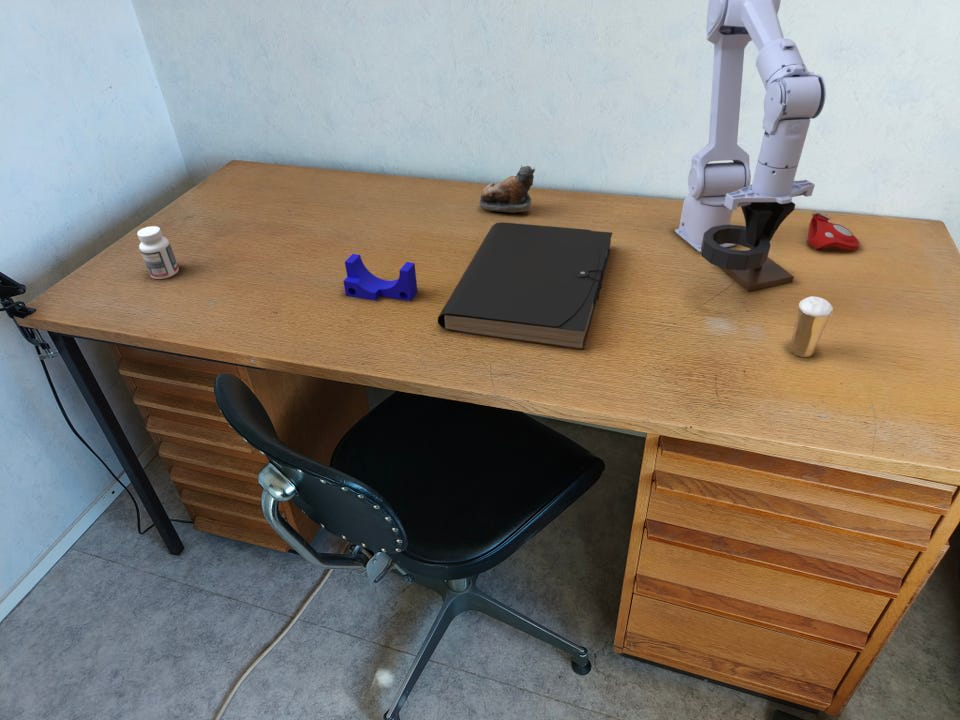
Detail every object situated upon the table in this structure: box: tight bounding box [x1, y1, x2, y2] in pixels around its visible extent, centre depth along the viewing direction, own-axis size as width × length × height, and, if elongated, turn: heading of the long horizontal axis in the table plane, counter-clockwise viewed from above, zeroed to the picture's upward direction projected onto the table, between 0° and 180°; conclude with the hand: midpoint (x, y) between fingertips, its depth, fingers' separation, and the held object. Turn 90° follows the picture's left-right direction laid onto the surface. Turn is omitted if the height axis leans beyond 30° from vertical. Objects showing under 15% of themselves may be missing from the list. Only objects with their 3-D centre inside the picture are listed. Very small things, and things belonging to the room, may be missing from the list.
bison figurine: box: [478, 165, 536, 213], centre depth 139 cm, size 12×7×10 cm, turn 74°
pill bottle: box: [136, 225, 180, 280], centre depth 123 cm, size 5×5×9 cm
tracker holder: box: [806, 210, 860, 251], centre depth 127 cm, size 12×4×10 cm
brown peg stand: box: [718, 256, 794, 292], centre depth 117 cm, size 9×9×7 cm
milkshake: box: [789, 295, 839, 358], centre depth 98 cm, size 5×5×10 cm
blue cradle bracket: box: [342, 253, 419, 302], centre depth 116 cm, size 12×4×6 cm, turn 71°
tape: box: [700, 224, 771, 271], centre depth 106 cm, size 10×10×3 cm
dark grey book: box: [437, 221, 613, 350], centre depth 117 cm, size 33×4×24 cm
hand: (757, 242), depth 107 cm, fingers closed on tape
